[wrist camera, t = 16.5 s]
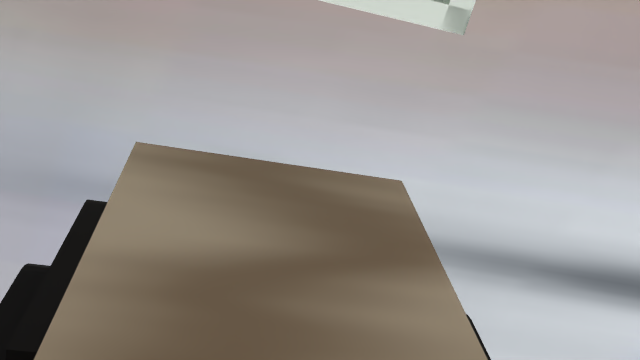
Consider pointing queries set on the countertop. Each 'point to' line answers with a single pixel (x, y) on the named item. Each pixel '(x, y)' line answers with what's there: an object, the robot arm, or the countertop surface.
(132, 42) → the countertop surface
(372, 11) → the tray
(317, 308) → the block
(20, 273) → the robot arm
